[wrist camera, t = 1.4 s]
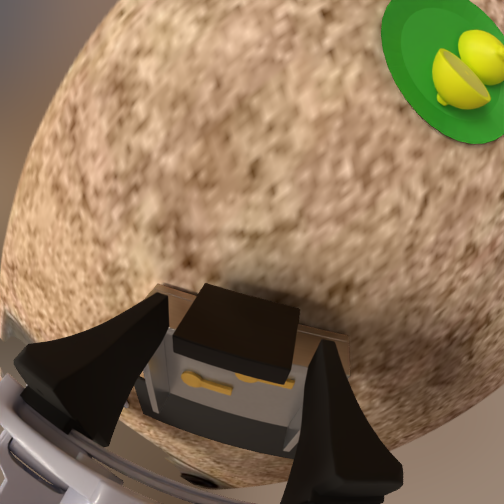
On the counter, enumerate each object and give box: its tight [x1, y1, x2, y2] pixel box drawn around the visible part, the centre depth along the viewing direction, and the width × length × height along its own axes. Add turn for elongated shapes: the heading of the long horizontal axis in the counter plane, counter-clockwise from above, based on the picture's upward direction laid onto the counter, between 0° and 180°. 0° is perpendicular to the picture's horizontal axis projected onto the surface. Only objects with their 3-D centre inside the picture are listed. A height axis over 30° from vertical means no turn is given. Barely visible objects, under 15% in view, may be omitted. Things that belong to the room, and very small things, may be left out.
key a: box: [181, 371, 233, 396], centre depth 20 cm, size 4×2×1 cm, turn 80°
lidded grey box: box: [143, 283, 350, 452], centre depth 16 cm, size 14×12×5 cm
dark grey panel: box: [134, 377, 298, 459], centre depth 25 cm, size 20×9×1 cm, turn 80°
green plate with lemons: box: [381, 0, 504, 144], centre depth 6 cm, size 8×8×3 cm
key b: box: [235, 373, 295, 389], centre depth 18 cm, size 4×2×1 cm, turn 80°
